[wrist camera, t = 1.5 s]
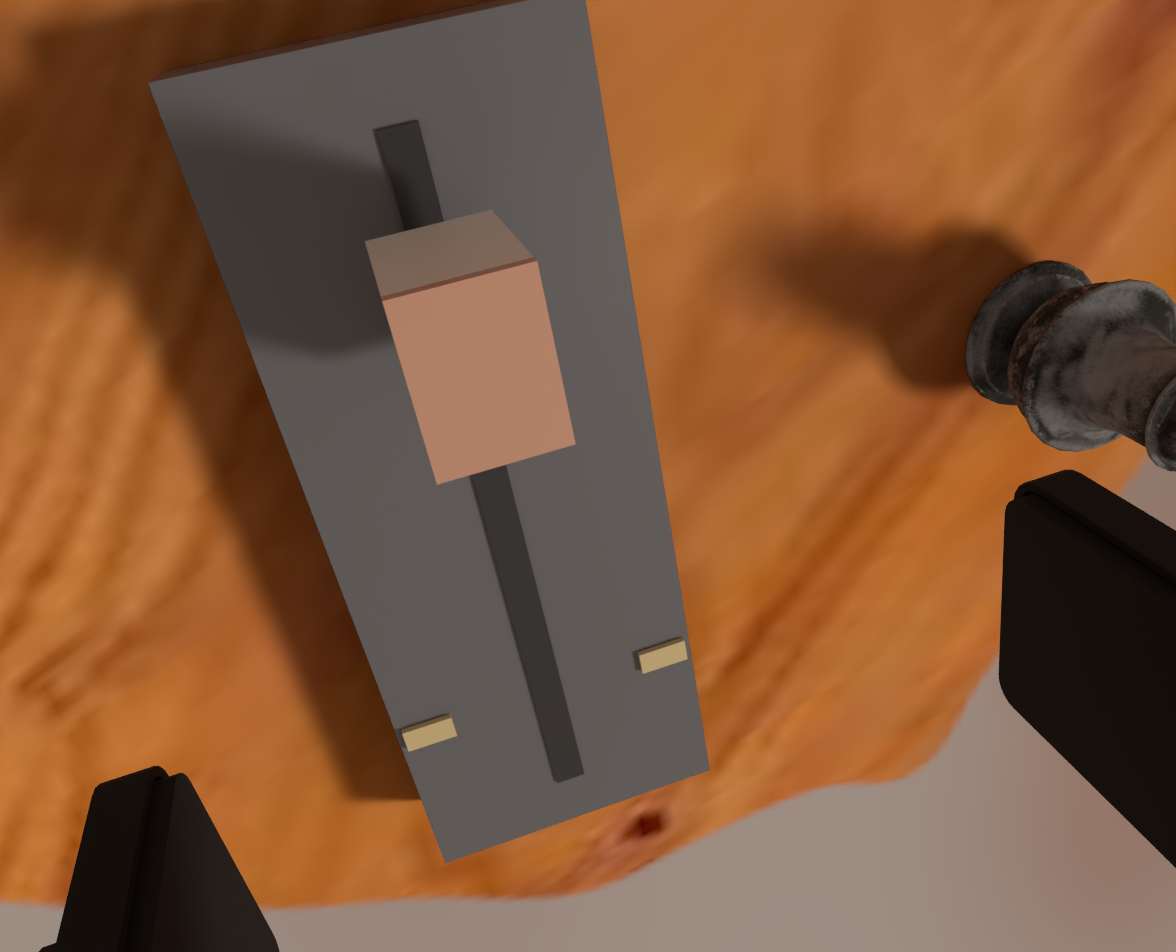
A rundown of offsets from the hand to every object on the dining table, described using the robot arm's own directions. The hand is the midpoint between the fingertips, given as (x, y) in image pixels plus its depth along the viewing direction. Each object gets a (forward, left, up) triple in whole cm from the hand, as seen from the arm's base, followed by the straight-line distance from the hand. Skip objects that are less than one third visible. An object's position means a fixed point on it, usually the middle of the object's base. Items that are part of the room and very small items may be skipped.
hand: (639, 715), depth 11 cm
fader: (0, 0, -16) cm, 16 cm away
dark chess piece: (+8, +20, -20) cm, 29 cm away
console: (+7, 0, -20) cm, 21 cm away
